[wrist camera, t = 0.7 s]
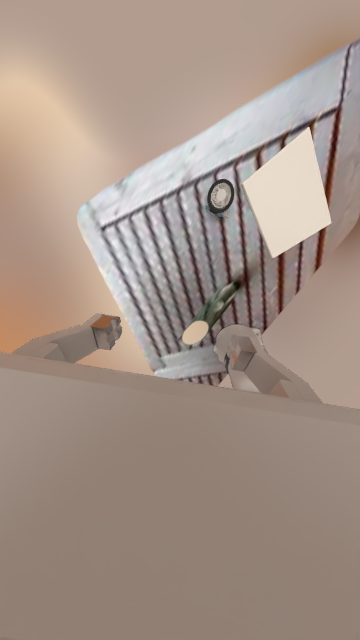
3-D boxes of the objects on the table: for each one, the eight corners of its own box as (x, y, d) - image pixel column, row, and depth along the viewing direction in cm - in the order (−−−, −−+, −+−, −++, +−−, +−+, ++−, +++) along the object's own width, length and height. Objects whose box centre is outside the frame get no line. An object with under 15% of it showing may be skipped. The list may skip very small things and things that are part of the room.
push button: (234, 205, 35) (247, 189, 26) (222, 228, 37) (230, 220, 28) (212, 191, 34) (217, 170, 25) (201, 215, 36) (203, 203, 28)
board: (327, 223, 34) (331, 222, 33) (270, 258, 39) (272, 258, 38) (304, 131, 28) (309, 126, 27) (241, 185, 33) (242, 183, 32)
